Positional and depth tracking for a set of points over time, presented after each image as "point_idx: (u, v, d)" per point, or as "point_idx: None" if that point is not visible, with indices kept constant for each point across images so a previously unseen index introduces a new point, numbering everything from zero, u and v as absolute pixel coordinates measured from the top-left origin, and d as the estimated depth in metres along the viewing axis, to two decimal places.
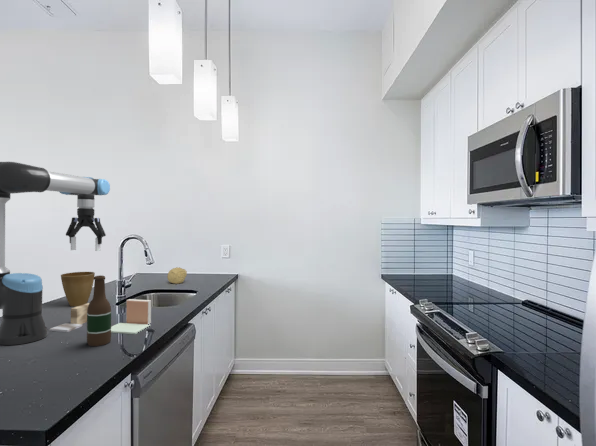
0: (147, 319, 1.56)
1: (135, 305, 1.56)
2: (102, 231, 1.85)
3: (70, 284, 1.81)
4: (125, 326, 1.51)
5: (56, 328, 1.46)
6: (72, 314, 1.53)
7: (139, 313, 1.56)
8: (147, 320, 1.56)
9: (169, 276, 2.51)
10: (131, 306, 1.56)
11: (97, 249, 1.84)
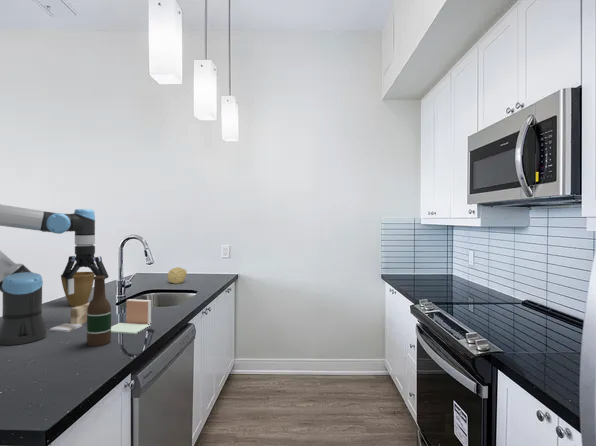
0: (147, 319, 1.56)
1: (135, 305, 1.56)
2: (104, 272, 1.57)
3: None
4: (125, 326, 1.51)
5: (56, 328, 1.46)
6: (72, 314, 1.53)
7: (139, 313, 1.56)
8: (147, 320, 1.56)
9: (169, 276, 2.51)
10: (131, 306, 1.56)
11: None
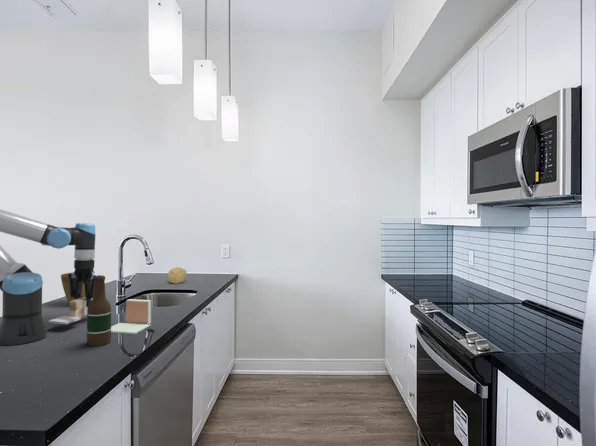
0: (147, 319, 1.56)
1: (135, 305, 1.56)
2: None
3: None
4: (125, 326, 1.51)
5: (55, 320, 1.46)
6: (71, 306, 1.53)
7: (139, 313, 1.56)
8: (147, 320, 1.56)
9: (169, 276, 2.51)
10: (131, 306, 1.56)
11: (85, 313, 1.58)
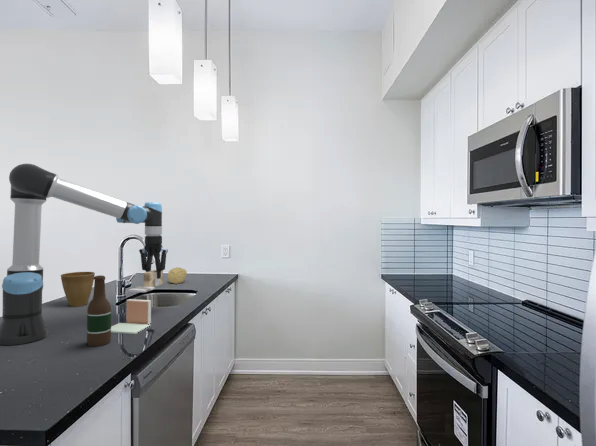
0: (147, 319, 1.56)
1: (135, 305, 1.56)
2: (163, 265, 1.73)
3: (70, 284, 1.81)
4: (125, 326, 1.51)
5: (134, 289, 1.62)
6: (145, 277, 1.68)
7: (139, 313, 1.56)
8: (147, 320, 1.56)
9: (169, 276, 2.51)
10: (131, 306, 1.56)
11: (156, 284, 1.73)
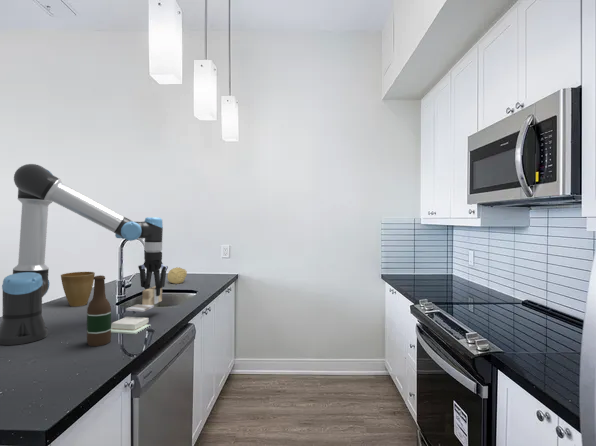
0: (144, 324, 1.54)
1: None
2: (163, 282, 1.68)
3: (70, 284, 1.81)
4: None
5: (132, 308, 1.56)
6: (144, 295, 1.63)
7: None
8: (145, 324, 1.54)
9: (169, 276, 2.51)
10: None
11: (155, 302, 1.68)
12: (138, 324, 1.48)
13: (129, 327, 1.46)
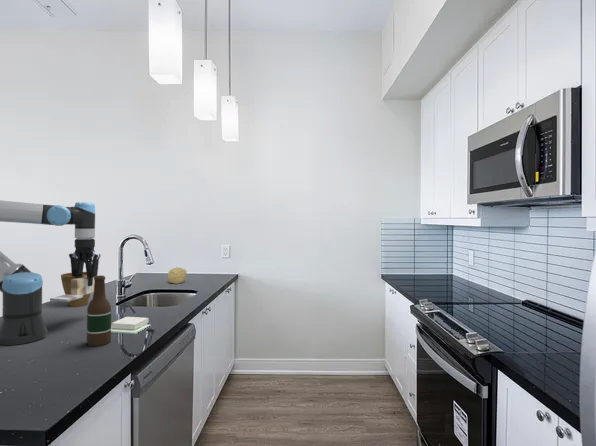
0: (144, 324, 1.54)
1: None
2: (95, 271, 1.58)
3: (70, 284, 1.81)
4: None
5: (56, 298, 1.46)
6: (73, 285, 1.53)
7: None
8: (145, 324, 1.54)
9: (169, 276, 2.51)
10: None
11: (87, 292, 1.58)
12: (138, 324, 1.48)
13: (129, 327, 1.46)
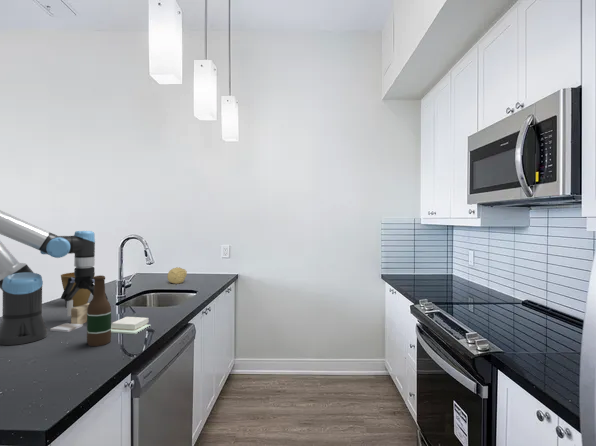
0: (144, 324, 1.54)
1: None
2: None
3: None
4: None
5: (56, 328, 1.46)
6: (73, 313, 1.53)
7: None
8: (145, 324, 1.54)
9: (169, 276, 2.51)
10: None
11: None
12: (138, 324, 1.48)
13: (129, 327, 1.46)
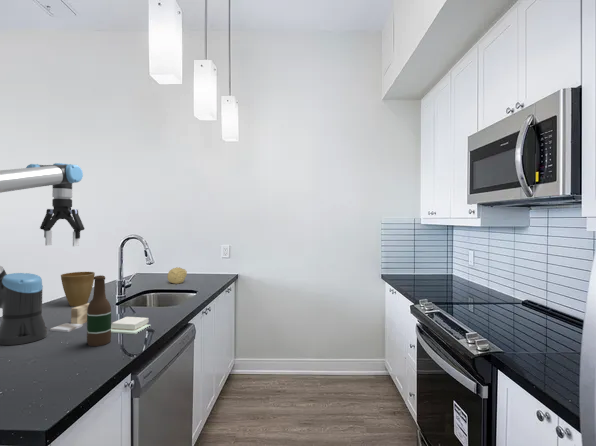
0: (144, 324, 1.54)
1: None
2: (80, 224, 1.65)
3: (70, 284, 1.81)
4: None
5: (56, 328, 1.46)
6: (73, 313, 1.53)
7: None
8: (145, 324, 1.54)
9: (169, 276, 2.51)
10: None
11: (75, 244, 1.65)
12: (138, 324, 1.48)
13: (129, 327, 1.46)
